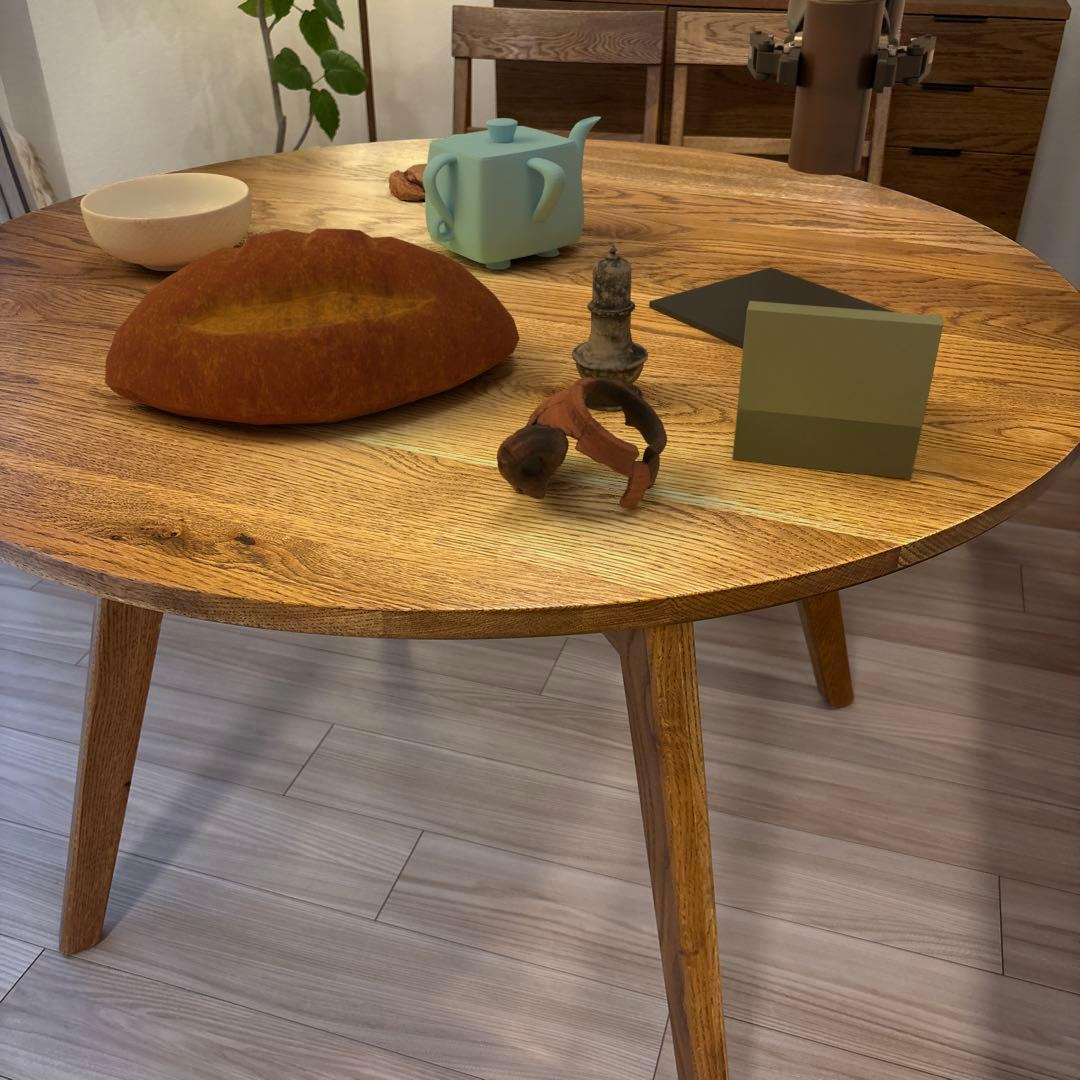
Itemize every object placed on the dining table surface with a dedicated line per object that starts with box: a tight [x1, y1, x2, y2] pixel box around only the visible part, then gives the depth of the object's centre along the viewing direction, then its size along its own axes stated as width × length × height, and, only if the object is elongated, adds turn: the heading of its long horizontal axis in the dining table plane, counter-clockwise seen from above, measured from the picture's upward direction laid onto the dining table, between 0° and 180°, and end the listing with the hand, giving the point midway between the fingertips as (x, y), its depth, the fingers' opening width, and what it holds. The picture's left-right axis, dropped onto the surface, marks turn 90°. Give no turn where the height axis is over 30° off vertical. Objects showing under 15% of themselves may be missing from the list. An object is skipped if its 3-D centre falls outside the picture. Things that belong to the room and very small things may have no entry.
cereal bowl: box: [80, 172, 253, 272], centre depth 109 cm, size 17×17×7 cm
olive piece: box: [731, 301, 944, 480], centre depth 73 cm, size 12×12×11 cm
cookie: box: [388, 163, 427, 202], centre depth 132 cm, size 10×11×3 cm
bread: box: [104, 228, 521, 426], centre depth 81 cm, size 21×33×12 cm, turn 100°
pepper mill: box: [787, 0, 886, 176], centre depth 73 cm, size 5×5×12 cm
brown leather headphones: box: [496, 376, 668, 510], centre depth 68 cm, size 12×10×8 cm
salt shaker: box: [571, 244, 649, 412], centre depth 78 cm, size 6×6×12 cm
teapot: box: [423, 116, 602, 271], centre depth 109 cm, size 18×16×14 cm
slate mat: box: [648, 266, 895, 349], centre depth 96 cm, size 16×16×1 cm
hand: (836, 75), depth 71 cm, fingers closed on pepper mill, 5 cm apart
